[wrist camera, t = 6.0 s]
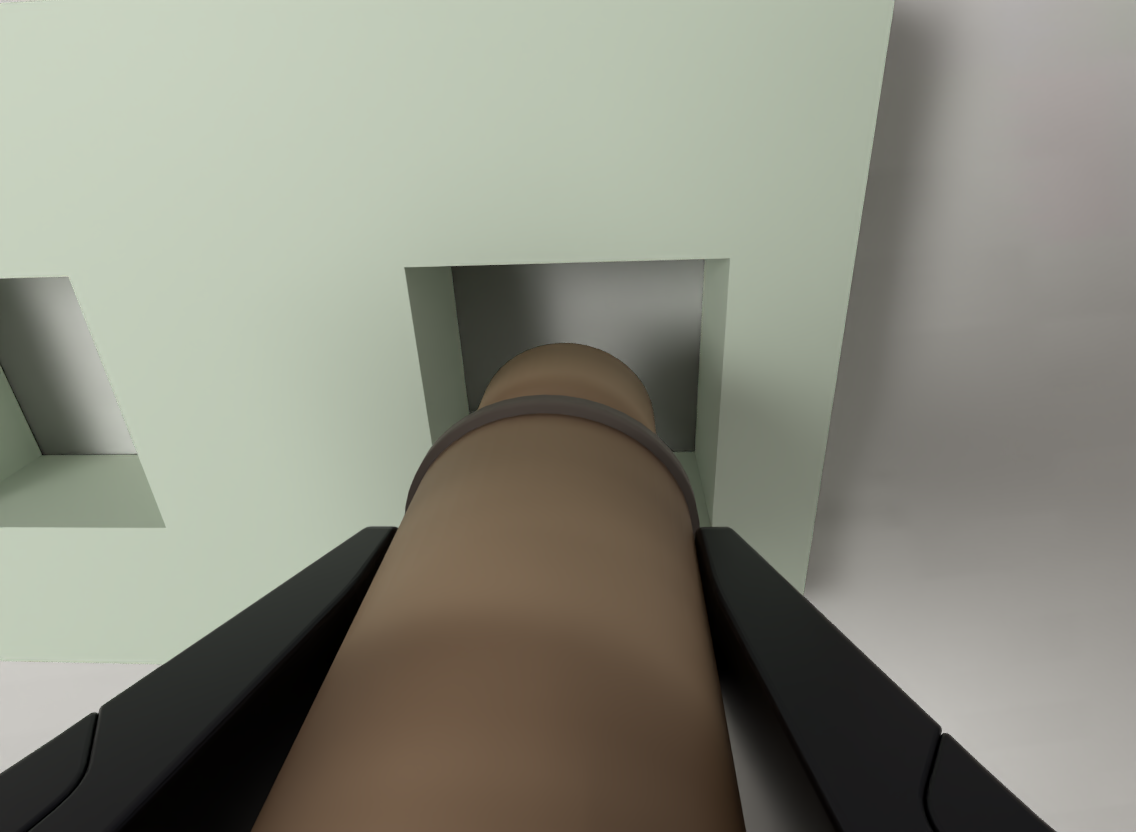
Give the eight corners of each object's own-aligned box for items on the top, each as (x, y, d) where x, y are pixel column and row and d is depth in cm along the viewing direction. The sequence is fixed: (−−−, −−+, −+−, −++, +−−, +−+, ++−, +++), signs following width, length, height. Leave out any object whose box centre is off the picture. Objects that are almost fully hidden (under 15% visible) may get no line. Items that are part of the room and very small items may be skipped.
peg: (674, 516, 12) (854, 1777, 3) (469, 516, 12) (83, 1671, 3) (682, 316, 10) (1131, 1840, 1) (443, 321, 11) (-491, 1611, 2)
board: (833, -20, 11) (903, -53, 8) (762, 583, 17) (790, 676, 14) (-244, 43, 13) (-476, 32, 10) (34, 576, 18) (-64, 659, 16)
